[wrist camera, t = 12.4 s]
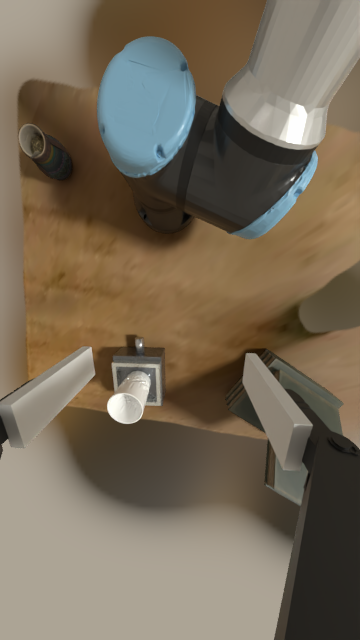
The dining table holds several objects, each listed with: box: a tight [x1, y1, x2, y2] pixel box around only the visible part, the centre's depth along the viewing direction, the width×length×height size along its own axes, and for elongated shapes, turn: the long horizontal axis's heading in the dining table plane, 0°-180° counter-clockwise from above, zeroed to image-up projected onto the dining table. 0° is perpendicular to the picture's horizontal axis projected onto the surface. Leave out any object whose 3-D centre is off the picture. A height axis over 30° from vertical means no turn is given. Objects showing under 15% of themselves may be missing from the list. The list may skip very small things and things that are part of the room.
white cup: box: [107, 371, 151, 424], centre depth 41 cm, size 8×8×10 cm
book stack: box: [225, 349, 343, 506], centre depth 39 cm, size 23×20×25 cm
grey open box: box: [112, 337, 166, 406], centre depth 47 cm, size 19×13×8 cm
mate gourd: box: [18, 123, 72, 180], centre depth 35 cm, size 7×8×10 cm
